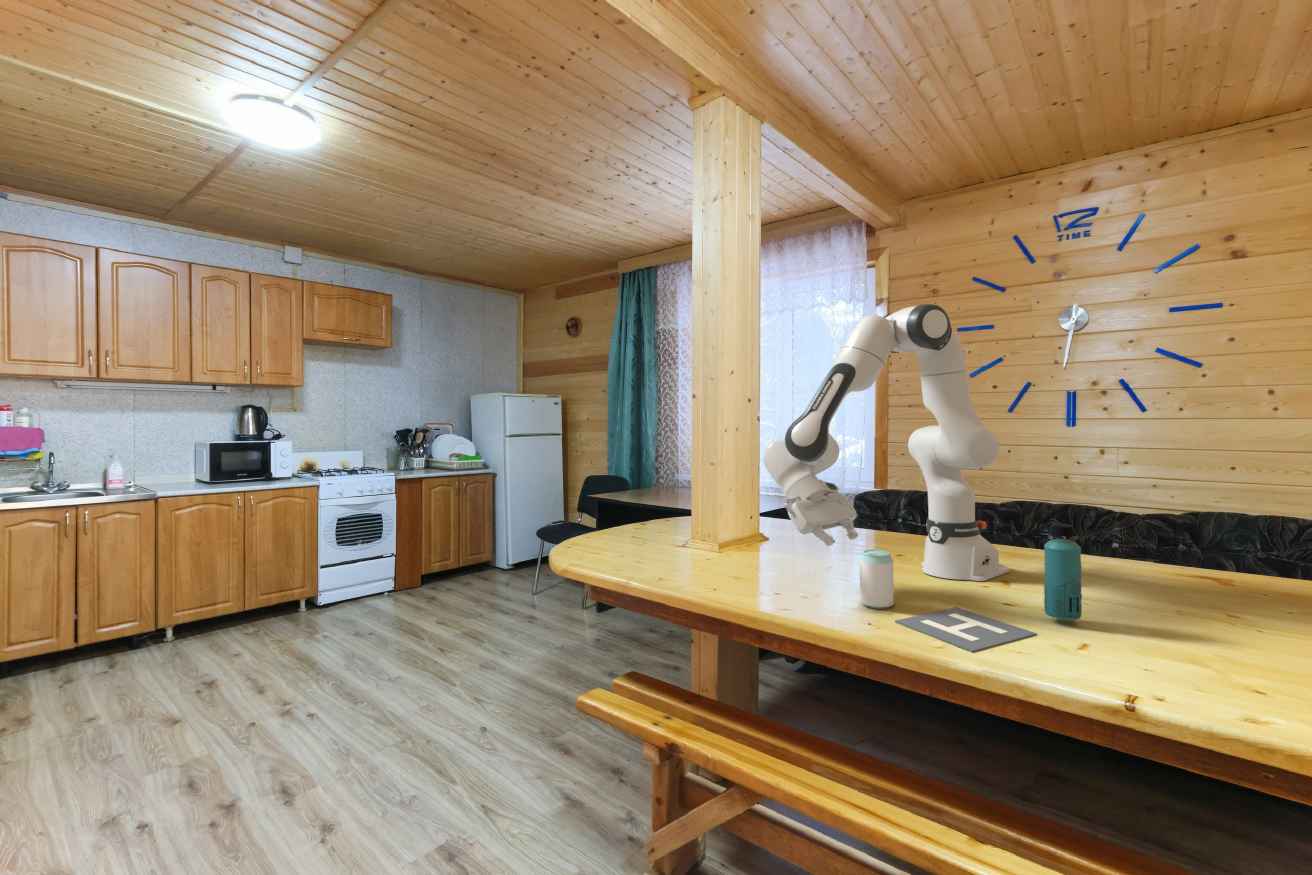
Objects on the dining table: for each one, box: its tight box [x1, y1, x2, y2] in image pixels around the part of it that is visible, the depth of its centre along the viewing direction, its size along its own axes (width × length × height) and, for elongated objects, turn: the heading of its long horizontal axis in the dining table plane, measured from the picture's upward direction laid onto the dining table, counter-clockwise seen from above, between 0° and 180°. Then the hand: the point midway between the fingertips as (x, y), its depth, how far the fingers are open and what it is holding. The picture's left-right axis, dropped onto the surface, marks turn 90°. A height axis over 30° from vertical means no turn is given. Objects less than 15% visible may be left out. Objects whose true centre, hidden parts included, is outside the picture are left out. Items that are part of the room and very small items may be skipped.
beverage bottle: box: [1043, 523, 1083, 621], centre depth 123 cm, size 6×7×20 cm
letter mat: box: [894, 606, 1038, 653], centre depth 121 cm, size 18×18×1 cm
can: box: [859, 549, 895, 610], centre depth 137 cm, size 7×7×12 cm
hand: (843, 541), depth 143 cm, fingers open, 8 cm apart
